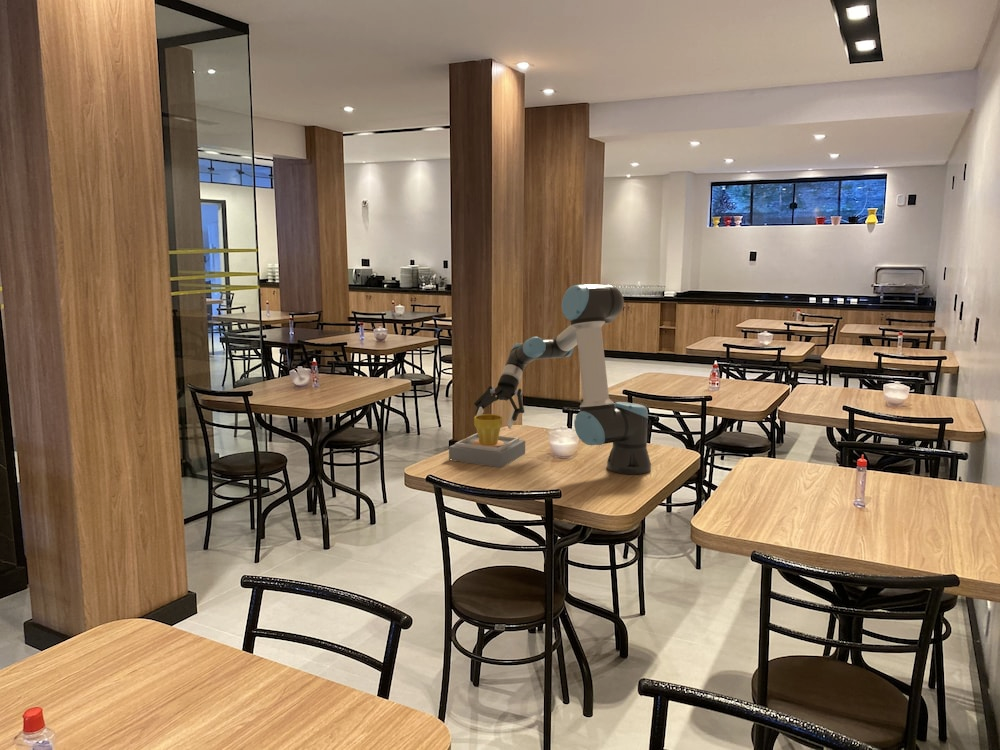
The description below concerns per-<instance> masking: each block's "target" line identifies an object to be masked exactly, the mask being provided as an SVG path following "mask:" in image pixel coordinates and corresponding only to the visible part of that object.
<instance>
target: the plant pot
mask: <svg viewBox="0 0 1000 750" xmlns="http://www.w3.org/2000/svg"><path fill="white" fill-rule="evenodd" d="M473 424H474V425H473V426H474V427H475V429H476V433H478V438H479V443H480V444H483V445H494V444H497V442H498V437H499V436H500V432H501V428H502V426H503V416H502V415H499V414H491V413H486V414H484V413H483V414H482V415H478V416H476V415H475V416H474V417H473Z"/></svg>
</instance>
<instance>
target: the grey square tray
mask: <svg viewBox="0 0 1000 750" xmlns="http://www.w3.org/2000/svg"><path fill="white" fill-rule="evenodd" d="M525 454H526V439H525V440H524V439H520V437H516V436H515V437H514V436H507V435H499V437H498V442H497V444H494V445H483V444H480V443H479V438H478V433H477V432H476V433H474V434H472V435H470V436H468V437H466V438H463V439H461V440H459V441H457V442H454V444H452V445H450V446H448V460H449V459H452V460H456V461H455V462H458V461H460V463H467V464H473V465H474V464H475V465H482V466H488V467H496V468H504V467H505V466H507V465H509V464H510V463H512V462H513V461H515V460H517V459H518V458H521V457H522V456H523V455H525Z"/></svg>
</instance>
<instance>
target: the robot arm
mask: <svg viewBox="0 0 1000 750" xmlns="http://www.w3.org/2000/svg"><path fill="white" fill-rule="evenodd" d="M624 302H625V299H624V296H623V294H622V292H621V291H620V290H619V288H618V287H616V286H614V285H611V284H608V283H607V284H604V283H603V284H588V283H587V284H585V283H583V284H575V285H571V286H570V287H569V288H567V290H565V293H564V295H563V296H562V300H561V312H562V314H563V316H564V318H565V319H567V320H569V321H570V324H569V325H568V326H567V328H565V329H564V330H562V331H561V332H560V333H559V334H558V335H557V336H555V337H554V338H549V339H548V338H547V339H545V338H544V339H543V338H541V337H539V336H532V337H530V338H527V339H526V340H525V341H524V342H523V343H515V344H513V345H512V347H511V349H510V351H509V354H508V357H507V360H506V362H505V365H504V367H503V370H502V373H501V374H500V378H499V380H498V382H497V386H496V387H493V386H491V385H490V386H488V387H487V390H486V391H484V393H482V395H480V397H478V399H477V400H475V402H474V403H473V405H474V406H475V408H476V410H475V412H474V413H475V416H478V415H484V412H485V411H484V409H485V408H487V407H488V406H490V405H492V404H493V403H494V402H496V401H499V400H500V401H508V400H509V402H510V404H511V405H512V407H513V409H512V410H511V412H510V415H509V418H508V420H507V423H506V426H507V428H508V429H509V430H512V427H513V424H514V422H515V421H517V419H518V417H519V414H524V413H525V407H524V402H523V394H524V393H523V391H522V389H521V388H518V386H519V384H520V381H521V379H522V376H523V373H524V370H525V368H526V366H528V364H530V363H531V362H533V361H537V360H547V359H548V360H550V359H563V358H569V357H570V356H572V354H573V352H574V350H575V347H576V346H577V352H578V362H579V363H578V364H579V370H580V371H579V372H580V380H581V381H580V382H581V389H582V397H583V401H582V403H581V404H580V405H579V412H578V413H577V414H576V415H575V419H574V421H573V422H574V423H573V424H574V430H575V433H576V435H577V437H578V439H580V441H581V442H582V443H583V444H585V445H587V446H602V445H605V444H612V447H611V450H610V452H609V456H608V458H607V461H606V468H607V470H609V471H610V472H614V473H618V474H625V475H642V473H643V474H646V473H649V472H651V470H652V463H651V460H650V455H649V452H648V449H647V448H648V447H647V445H648V426H649V424H648V423H649V421H648V420H649V415H648V414H649V411H648V408H647V406H645V405H643V404H639V403H634V402H632V403H631V402H627V401H626V402H625V401H616V402H614V401H613V400H612V399H610V395H609V388H608V386H609V384H608V376H607V369H606V368H607V367H606V359H605V350H604V339H603V333H602V331H603V330H602V327H603V326H604V325H605V324H606V325H607V324H610V323H612V322H613V321H614V320H615V319H617V318H618V317H619V316H620V314H621V313H622V311H623V310H624V305H625V303H624ZM517 389H518V390H517ZM515 395H516V398H517V403H518V406H517V405H516V403H515V401H514V399H513V397H514V396H515ZM518 407H519V408H518Z"/></svg>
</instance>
